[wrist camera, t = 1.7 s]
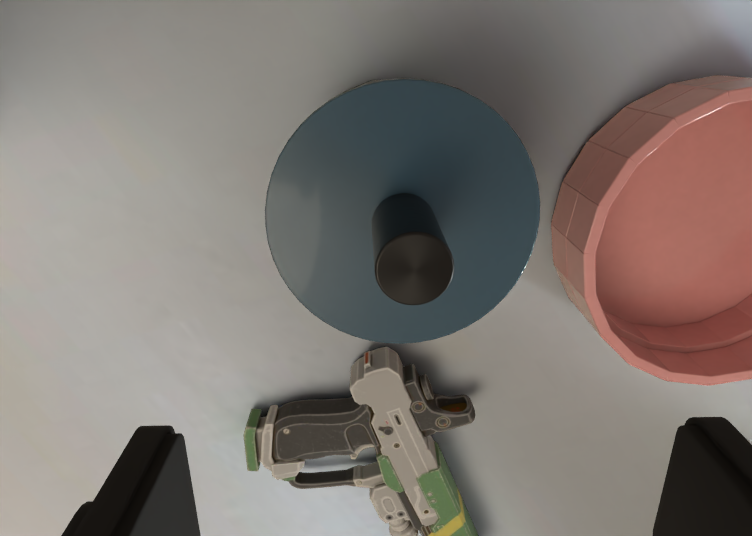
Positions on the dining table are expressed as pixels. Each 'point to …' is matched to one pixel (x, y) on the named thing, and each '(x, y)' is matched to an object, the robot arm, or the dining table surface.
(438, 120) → the lid
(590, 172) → the bowl
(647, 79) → the dining table surface
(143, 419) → the dining table surface
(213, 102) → the dining table surface
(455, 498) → the futuristic handgun
